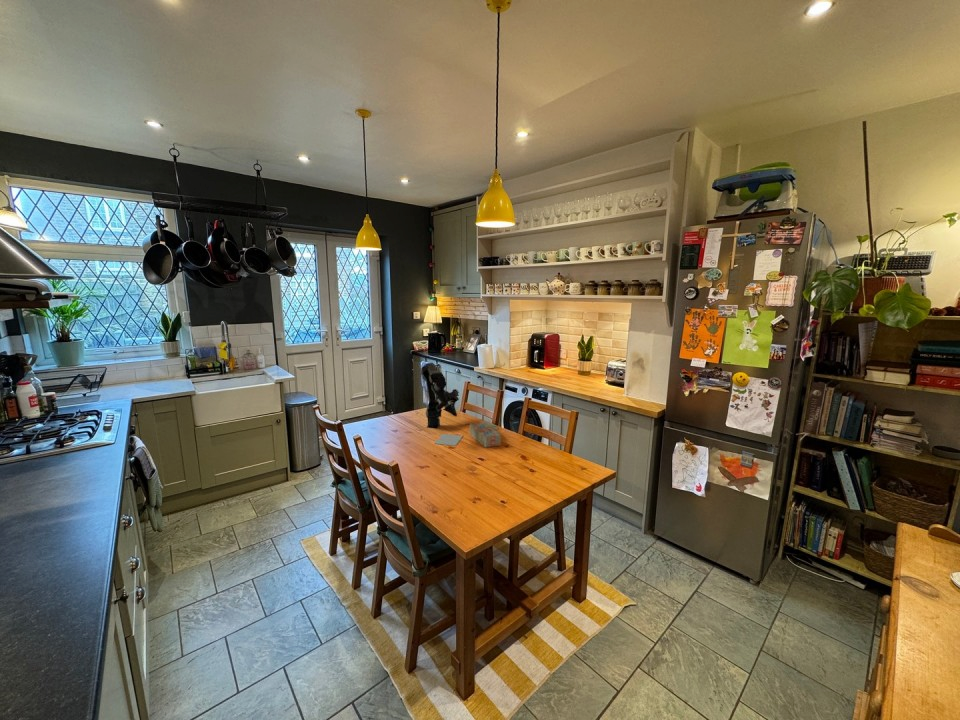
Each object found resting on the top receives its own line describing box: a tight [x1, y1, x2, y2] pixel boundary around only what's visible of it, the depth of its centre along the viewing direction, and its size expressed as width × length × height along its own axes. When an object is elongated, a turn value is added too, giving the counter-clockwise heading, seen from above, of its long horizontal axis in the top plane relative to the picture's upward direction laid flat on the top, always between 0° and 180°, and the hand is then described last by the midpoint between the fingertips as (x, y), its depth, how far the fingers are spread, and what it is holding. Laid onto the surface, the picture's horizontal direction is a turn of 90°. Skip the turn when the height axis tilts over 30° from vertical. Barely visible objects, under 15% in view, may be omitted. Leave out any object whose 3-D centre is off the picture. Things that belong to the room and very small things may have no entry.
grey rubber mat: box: [434, 433, 463, 447], centre depth 215 cm, size 12×14×1 cm
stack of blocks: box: [469, 420, 502, 448], centre depth 216 cm, size 21×6×12 cm
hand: (456, 415), depth 215 cm, fingers closed
